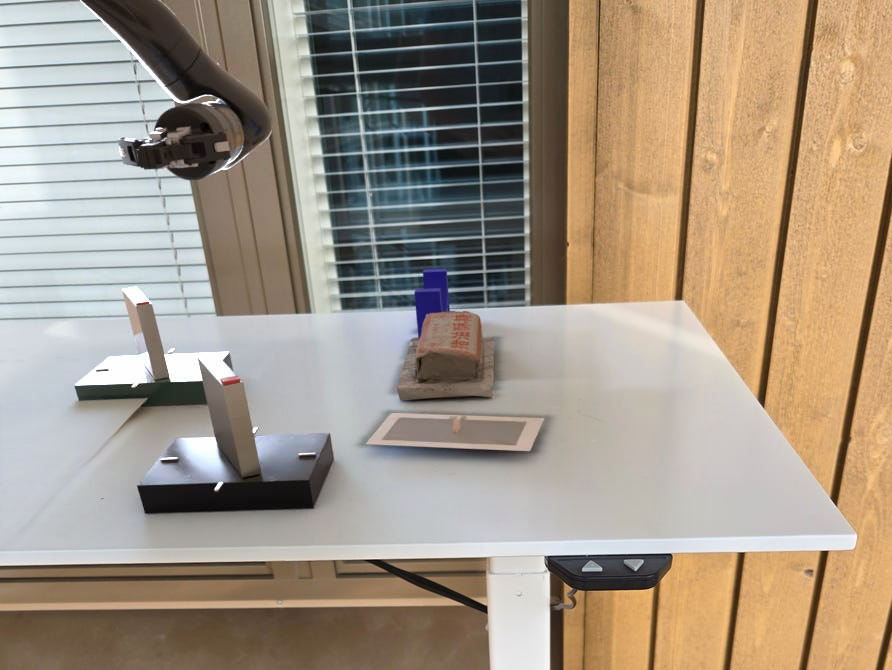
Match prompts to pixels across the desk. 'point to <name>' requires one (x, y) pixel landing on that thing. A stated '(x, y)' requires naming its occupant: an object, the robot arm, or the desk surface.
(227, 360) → the green base plate
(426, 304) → the blue stepped block
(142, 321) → the beige slab
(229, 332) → the desk surface
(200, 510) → the black square base
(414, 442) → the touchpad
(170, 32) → the robot arm
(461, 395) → the brown block with base
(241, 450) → the red-tipped upright panel
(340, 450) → the desk surface
